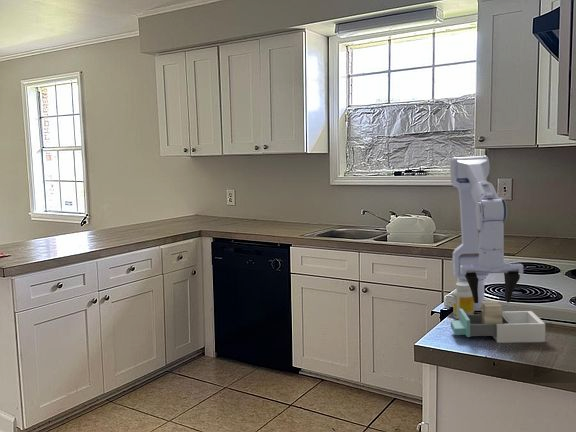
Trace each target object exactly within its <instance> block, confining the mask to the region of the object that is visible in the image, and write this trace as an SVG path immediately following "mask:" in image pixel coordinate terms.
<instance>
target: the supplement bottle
mask: <svg viewBox="0 0 576 432" xmlns="http://www.w3.org/2000/svg"><path fill="white" fill-rule="evenodd" d="M452 296H453V297H452V299H453V301H452V302H453V303H452V304H453V305H452V306H453V315H452V316H453V318H454V319H455V320H459V309H463V310H464V312H465V313H466V315H473V314H474V313H475V311H474V301H473V296H472V292H471V290H470V286H469V283H468V282H458V283H457V282H456V283H455V290H454V291H453V293H452Z"/></svg>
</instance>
